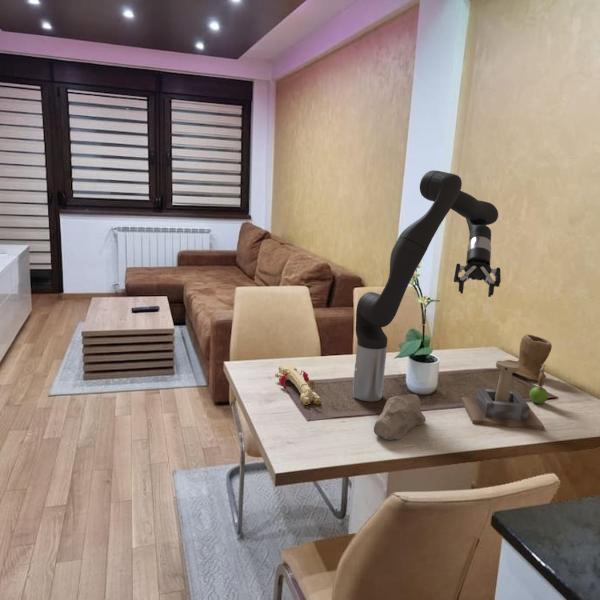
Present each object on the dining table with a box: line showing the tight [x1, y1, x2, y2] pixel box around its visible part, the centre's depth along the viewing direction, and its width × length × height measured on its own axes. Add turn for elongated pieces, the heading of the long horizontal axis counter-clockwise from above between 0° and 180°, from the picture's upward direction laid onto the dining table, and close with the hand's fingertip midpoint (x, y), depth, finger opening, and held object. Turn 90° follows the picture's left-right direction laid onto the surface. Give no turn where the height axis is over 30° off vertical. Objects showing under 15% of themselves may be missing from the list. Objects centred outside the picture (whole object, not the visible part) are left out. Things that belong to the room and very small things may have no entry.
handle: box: [495, 360, 519, 402], centre depth 156 cm, size 5×6×15 cm
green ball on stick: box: [528, 364, 549, 405], centre depth 167 cm, size 5×6×12 cm
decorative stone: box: [373, 393, 426, 441], centre depth 145 cm, size 20×8×10 cm, turn 139°
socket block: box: [460, 387, 545, 431], centre depth 158 cm, size 20×16×6 cm
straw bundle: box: [274, 363, 322, 406], centre depth 167 cm, size 10×9×25 cm
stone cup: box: [504, 334, 553, 381], centre depth 191 cm, size 15×12×15 cm
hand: (475, 293), depth 166 cm, fingers open, 8 cm apart
